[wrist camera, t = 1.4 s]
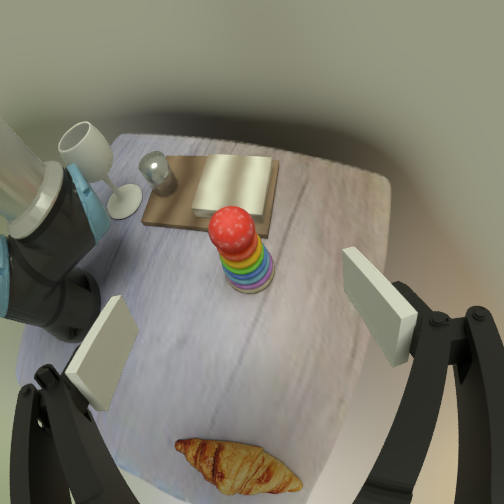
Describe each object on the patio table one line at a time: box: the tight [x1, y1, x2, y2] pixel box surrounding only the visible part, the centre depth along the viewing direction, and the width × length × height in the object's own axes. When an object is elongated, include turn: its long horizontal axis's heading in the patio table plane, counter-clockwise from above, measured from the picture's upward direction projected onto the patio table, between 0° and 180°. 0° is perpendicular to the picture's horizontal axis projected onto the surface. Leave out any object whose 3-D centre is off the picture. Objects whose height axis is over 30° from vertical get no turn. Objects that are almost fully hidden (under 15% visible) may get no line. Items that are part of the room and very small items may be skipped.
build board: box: [141, 154, 279, 239], centre depth 49 cm, size 24×16×4 cm, turn 80°
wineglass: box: [58, 122, 142, 219], centre depth 43 cm, size 9×9×21 cm
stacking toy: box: [208, 206, 274, 293], centre depth 36 cm, size 8×8×19 cm
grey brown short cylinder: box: [139, 151, 178, 197], centre depth 47 cm, size 5×5×8 cm
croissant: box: [175, 438, 303, 495], centre depth 31 cm, size 21×10×8 cm, turn 70°
